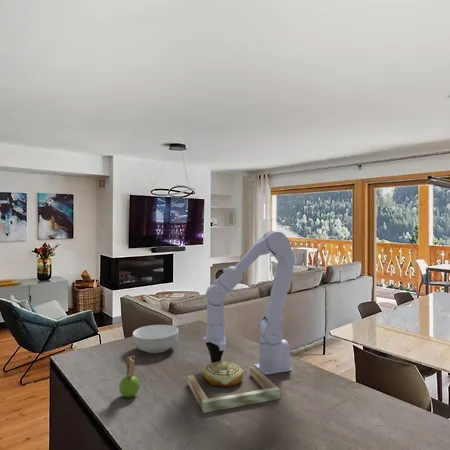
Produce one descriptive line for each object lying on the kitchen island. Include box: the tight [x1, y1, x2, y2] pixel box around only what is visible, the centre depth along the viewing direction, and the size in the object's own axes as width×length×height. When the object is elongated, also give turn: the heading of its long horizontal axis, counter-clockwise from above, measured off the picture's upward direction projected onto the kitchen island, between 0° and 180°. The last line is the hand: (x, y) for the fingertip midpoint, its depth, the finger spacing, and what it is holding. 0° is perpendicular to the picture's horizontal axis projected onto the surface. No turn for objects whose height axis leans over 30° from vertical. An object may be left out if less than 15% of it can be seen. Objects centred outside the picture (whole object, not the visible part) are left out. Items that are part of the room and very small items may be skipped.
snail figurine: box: [118, 355, 141, 398], centre depth 97 cm, size 5×6×12 cm
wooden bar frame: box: [187, 365, 281, 413], centre depth 100 cm, size 21×16×2 cm
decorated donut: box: [203, 360, 245, 388], centre depth 107 cm, size 11×12×4 cm
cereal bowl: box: [132, 324, 179, 354], centre depth 133 cm, size 17×17×7 cm
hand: (215, 365), depth 114 cm, fingers closed
